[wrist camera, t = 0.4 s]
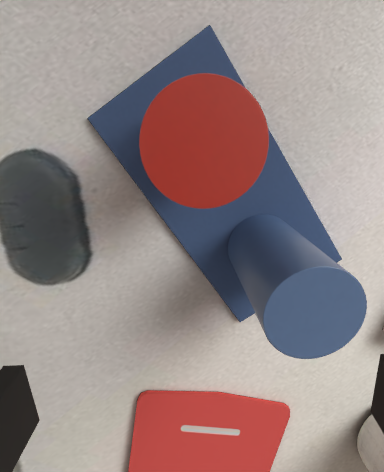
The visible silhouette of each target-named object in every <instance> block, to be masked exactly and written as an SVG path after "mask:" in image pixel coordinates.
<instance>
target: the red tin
mask: <svg viewBox="0 0 384 472" xmlns="http://www.w3.org/2000/svg"><path fill="white" fill-rule="evenodd" d="M268 147H269V134H268V126H267V122H266V119H265V116H264V113H263V111H262V109H261V107H260V105H259V103H258V102H257V101H256V99H255V98H254V96H253V95H252V94H251V93H250V92H249V91H248V90H247V89H246V88H244V87H243V86H242V85H241V84H239V83H237V82H236V81H234V80H232V79H230V78H227V77H225V76H221V75H217V74H210V73H199V74H193V75H188V76H185V77H182V78H180V79H178V80H176V81H174V82H172V83H171V84H169V85H168V86H166V87H165V88H164V89H163V90H162V91H161V92H160V93H158V94H157V96H156V97H155V98H154V99H153V101H152V102H151V104H150V105H149V107H148V109H147V111H146V113H145V115H144V118H143V121H142V124H141V129H140V135H139V148H140V155H141V160H142V163H143V166H144V169H145V171H146V173H147V175H148V177H149V178H150V180H151V181H152V183H153V184H154V185H155V187H156V188H157V189H158V190H159V191H160V192H161V193H162V194H164V195H165V196H166V197H168V198H169V199H171V200H172V201H174V202H176V203H178V204H180V205H183V206H187V207H191V208H198V209H208V208H215V207H220V206H223V205H226V204H228V203H230V202H232V201H234V200H236V199H237V198H239V197H240V196H242V195H243V194H244V193H245V192H247V191H248V190H249V188H250V187H251V186H252V185H253V184H254V183H255V181H256V180H257V179H258V177H259V175H260V173H261V171H262V169H263V167H264V164H265V161H266V158H267V154H268Z"/></svg>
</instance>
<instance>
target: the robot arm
mask: <svg viewBox="0 0 384 472" xmlns="http://www.w3.org/2000/svg"><path fill="white" fill-rule="evenodd" d="M371 414H372V415H373V417H374V419H375V420H376V422H377V424H378V425H379V427H380V429H381V430H382V432H383V434H384V354H381V355H380V361H379V366H378V372H377V378H376V384H375V389H374V395H373V401H372V406H371ZM38 422H39V417H38V413H37V410H36V406H35V403H34V399H33V396H32V392H31V389H30V386H29V382H28V379H27V375H26V372H25V368H24V365H17V366H3V367H2V369H1V370H0V472H12V471H13V469H14V467H15V465H16V463H17V462H18V460H19V458H20V456H21V454H22V452H23V450H24V448H25V447H26V445H27V443H28V441H29V439H30V437H31V435H32V433H33V432H34V430H35V428H36V426H37V424H38Z"/></svg>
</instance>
